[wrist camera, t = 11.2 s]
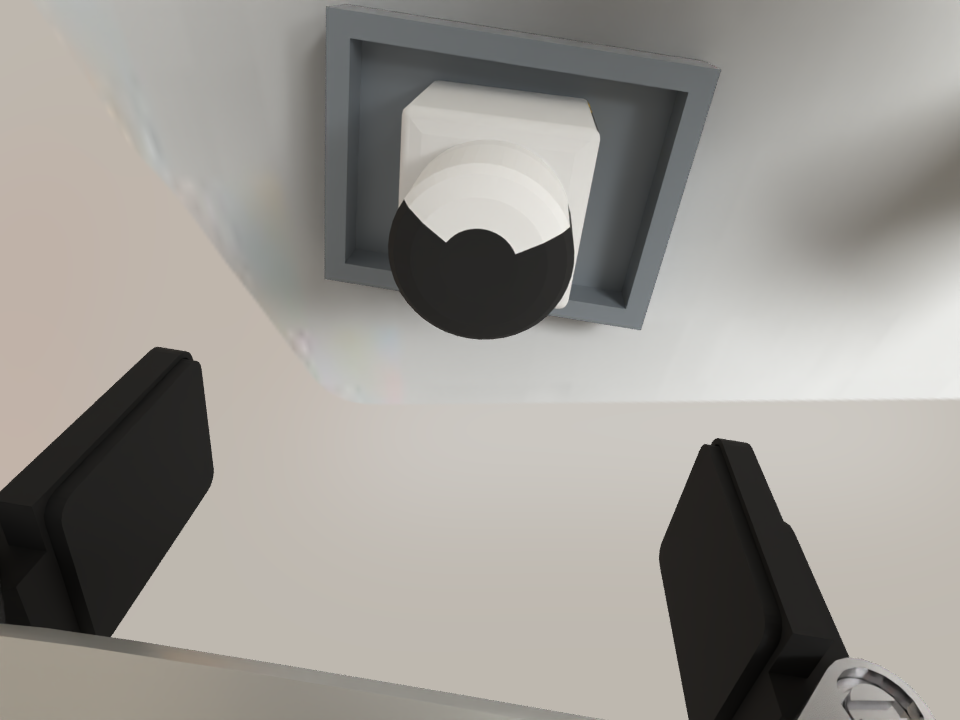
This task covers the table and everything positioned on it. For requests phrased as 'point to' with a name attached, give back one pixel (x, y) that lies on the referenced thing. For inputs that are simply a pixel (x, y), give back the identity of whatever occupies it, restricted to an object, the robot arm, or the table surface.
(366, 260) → the tray
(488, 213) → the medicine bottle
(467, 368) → the table surface
